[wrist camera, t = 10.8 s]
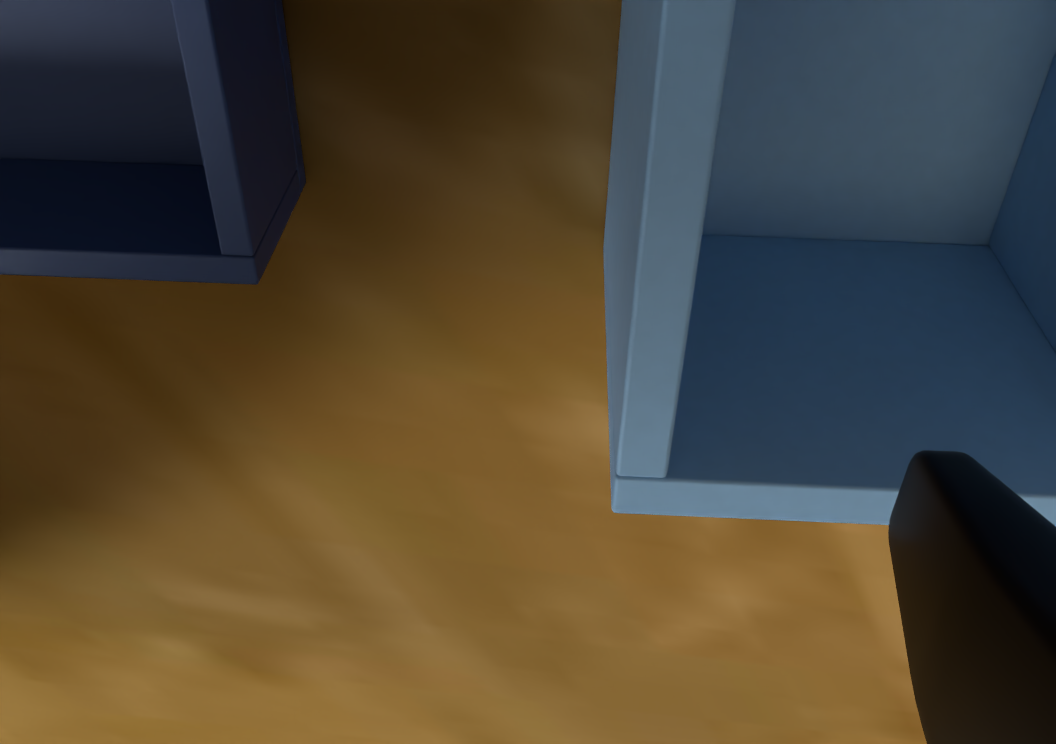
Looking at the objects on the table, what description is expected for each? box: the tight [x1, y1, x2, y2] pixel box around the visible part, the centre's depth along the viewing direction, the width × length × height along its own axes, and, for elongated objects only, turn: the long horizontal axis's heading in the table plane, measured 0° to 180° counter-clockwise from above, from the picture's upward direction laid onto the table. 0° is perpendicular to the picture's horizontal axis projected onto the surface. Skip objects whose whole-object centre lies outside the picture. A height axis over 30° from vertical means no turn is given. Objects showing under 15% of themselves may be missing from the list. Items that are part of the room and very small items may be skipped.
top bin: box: [603, 0, 1056, 526], centre depth 15 cm, size 12×9×8 cm
